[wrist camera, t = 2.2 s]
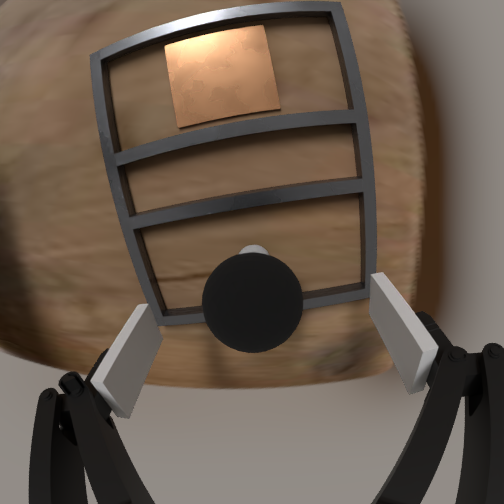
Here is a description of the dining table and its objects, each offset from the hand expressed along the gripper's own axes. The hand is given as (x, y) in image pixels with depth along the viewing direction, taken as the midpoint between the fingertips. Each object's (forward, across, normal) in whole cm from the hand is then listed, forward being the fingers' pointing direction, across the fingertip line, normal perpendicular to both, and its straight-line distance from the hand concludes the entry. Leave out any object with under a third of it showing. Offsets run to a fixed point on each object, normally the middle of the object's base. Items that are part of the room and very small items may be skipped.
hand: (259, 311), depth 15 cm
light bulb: (+8, 0, 0) cm, 8 cm away
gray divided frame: (+8, 0, +8) cm, 11 cm away
